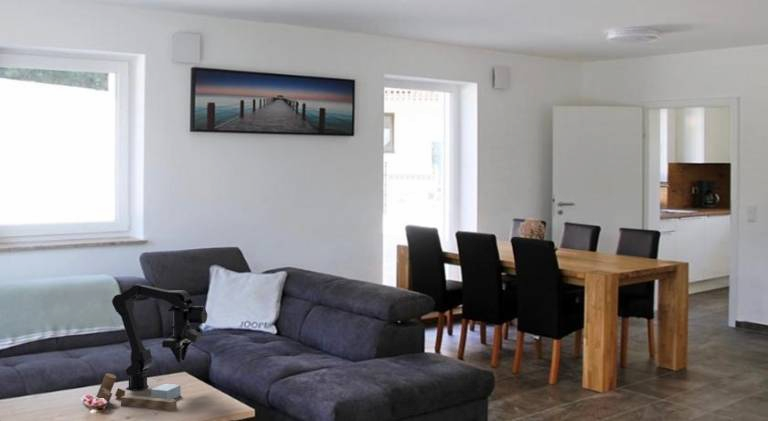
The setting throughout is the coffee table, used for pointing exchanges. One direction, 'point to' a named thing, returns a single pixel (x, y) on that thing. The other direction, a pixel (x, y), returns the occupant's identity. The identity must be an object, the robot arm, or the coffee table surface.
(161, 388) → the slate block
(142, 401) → the brown wooden bar
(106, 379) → the wooden block set
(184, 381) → the coffee table surface
